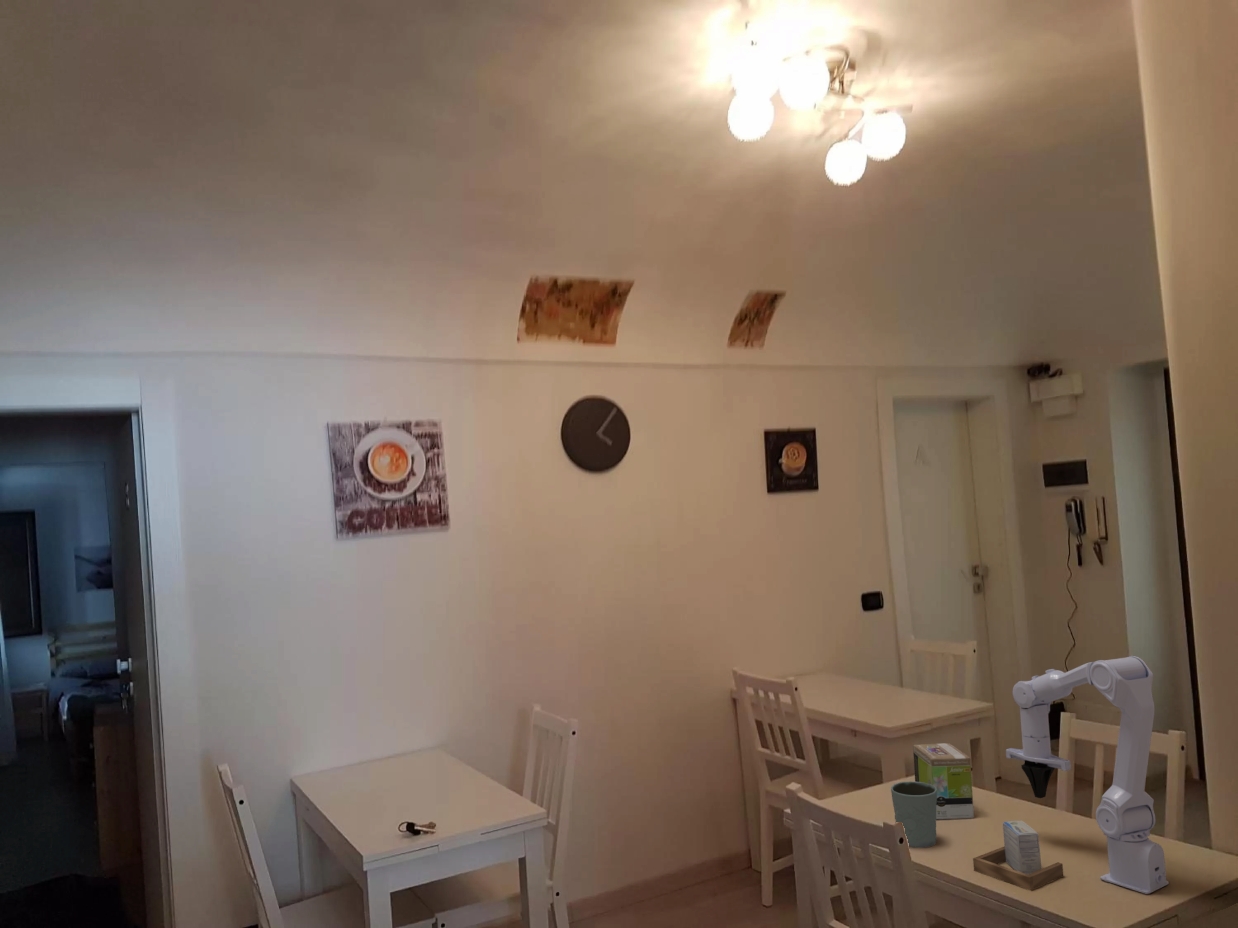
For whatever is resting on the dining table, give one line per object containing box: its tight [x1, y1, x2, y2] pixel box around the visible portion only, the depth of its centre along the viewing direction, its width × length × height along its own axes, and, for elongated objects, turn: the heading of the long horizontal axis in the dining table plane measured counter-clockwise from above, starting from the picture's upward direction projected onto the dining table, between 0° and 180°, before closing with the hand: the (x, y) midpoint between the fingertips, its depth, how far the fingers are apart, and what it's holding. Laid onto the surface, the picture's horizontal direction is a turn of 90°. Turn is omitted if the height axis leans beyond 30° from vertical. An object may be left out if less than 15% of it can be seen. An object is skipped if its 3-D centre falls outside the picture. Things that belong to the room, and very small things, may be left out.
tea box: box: [912, 742, 975, 820], centre depth 231 cm, size 15×10×15 cm, turn 179°
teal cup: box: [890, 780, 937, 849], centre depth 211 cm, size 10×10×12 cm
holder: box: [972, 845, 1064, 891], centre depth 190 cm, size 13×11×2 cm
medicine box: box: [1002, 820, 1043, 875], centre depth 192 cm, size 8×4×9 cm, turn 179°
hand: (1040, 796), depth 205 cm, fingers closed
